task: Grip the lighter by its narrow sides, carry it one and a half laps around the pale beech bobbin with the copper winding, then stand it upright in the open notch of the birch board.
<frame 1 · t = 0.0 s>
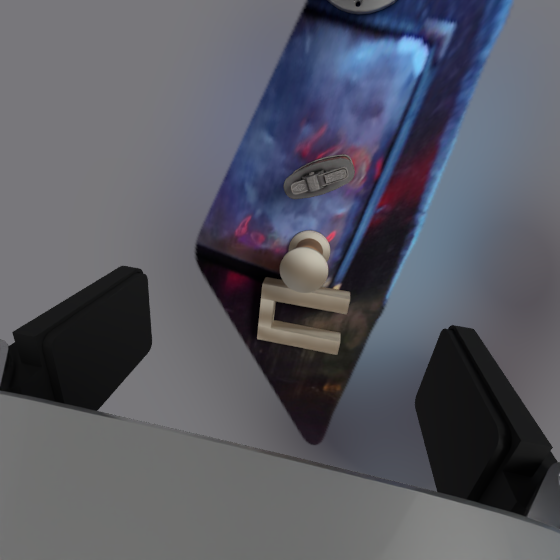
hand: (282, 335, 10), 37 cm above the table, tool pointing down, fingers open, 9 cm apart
bobbin: (309, 250, 48), on the table
notched board: (302, 312, 52), on the table
lighter: (322, 171, 43), on the table
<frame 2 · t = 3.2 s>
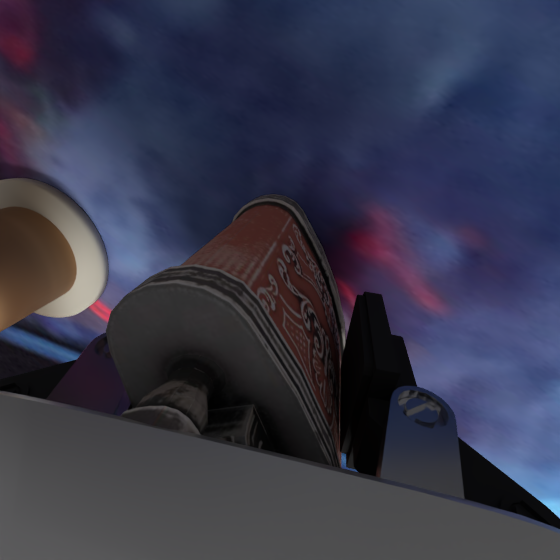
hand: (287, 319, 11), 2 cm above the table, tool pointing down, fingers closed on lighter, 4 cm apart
bobbin: (44, 250, 14), on the table
lighter: (295, 292, 13), on the table, touching gripper
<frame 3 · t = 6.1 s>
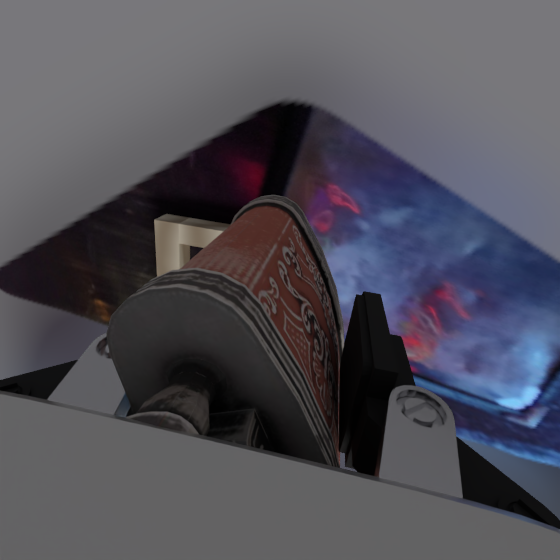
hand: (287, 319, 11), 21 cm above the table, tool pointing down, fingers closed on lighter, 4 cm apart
notched board: (211, 278, 36), on the table
lighter: (294, 293, 13), point 19 cm above the table, touching gripper
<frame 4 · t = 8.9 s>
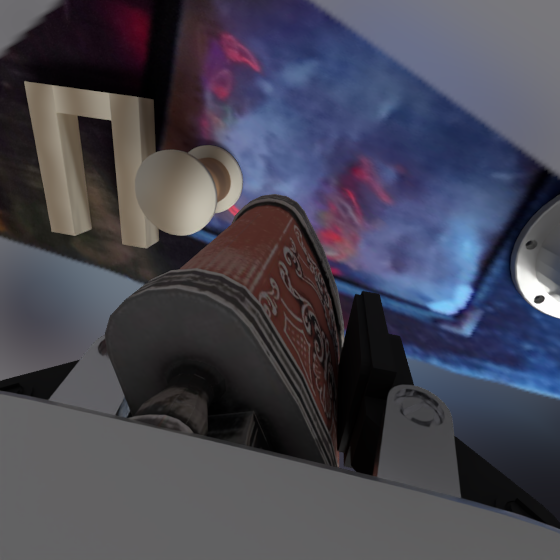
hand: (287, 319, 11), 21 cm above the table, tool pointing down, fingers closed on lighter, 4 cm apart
bobbin: (211, 179, 31), on the table
notched board: (107, 168, 32), on the table
lighter: (295, 293, 13), point 19 cm above the table, touching gripper
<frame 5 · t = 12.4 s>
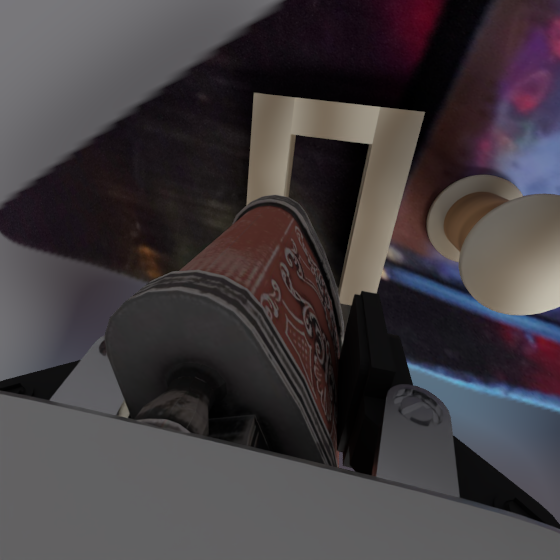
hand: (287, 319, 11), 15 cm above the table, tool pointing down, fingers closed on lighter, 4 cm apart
bobbin: (472, 219, 23), on the table
notched board: (321, 204, 24), on the table
lighter: (295, 294, 13), point 13 cm above the table, touching gripper
when the fingers open (3 cm above the table, at t = 14.7 s): lighter drops 2 cm, resting in notched board.
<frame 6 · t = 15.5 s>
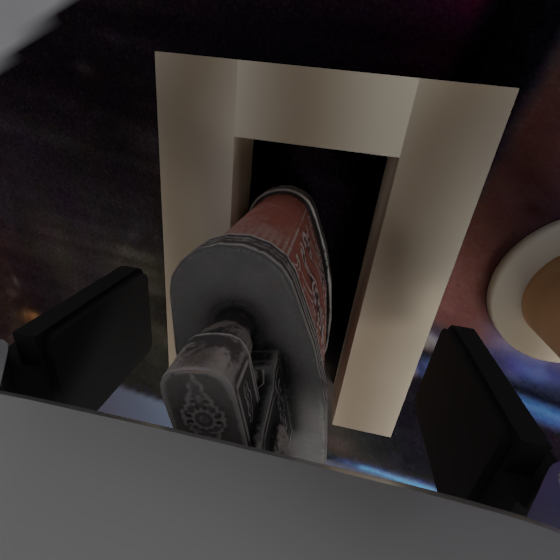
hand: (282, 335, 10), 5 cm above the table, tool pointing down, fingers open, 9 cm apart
notched board: (302, 257, 14), on the table
lighter: (293, 276, 15), resting in notched board
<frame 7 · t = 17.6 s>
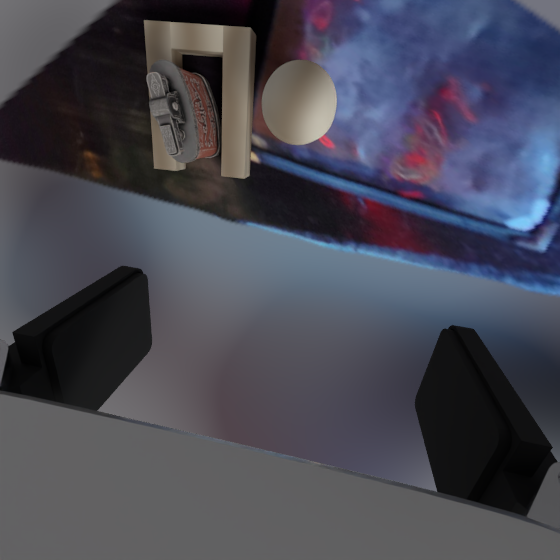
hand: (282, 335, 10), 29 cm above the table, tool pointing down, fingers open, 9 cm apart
bobbin: (305, 110, 33), on the table
notched board: (206, 106, 34), on the table
lighter: (204, 117, 35), resting in notched board
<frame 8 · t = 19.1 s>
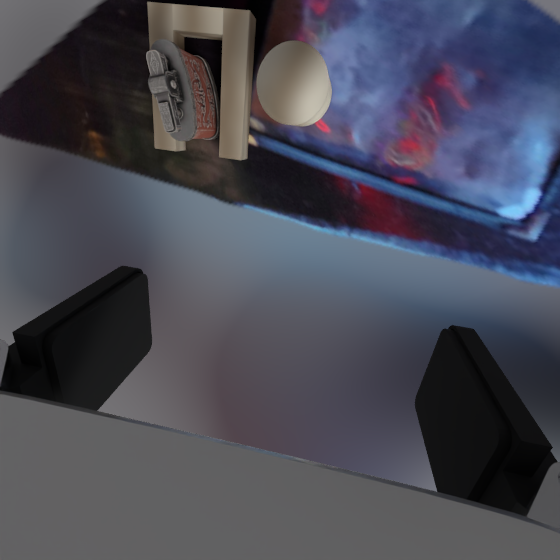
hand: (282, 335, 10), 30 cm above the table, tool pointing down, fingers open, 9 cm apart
bobbin: (302, 94, 34), on the table
notched board: (206, 89, 35), on the table
lighter: (204, 100, 36), resting in notched board
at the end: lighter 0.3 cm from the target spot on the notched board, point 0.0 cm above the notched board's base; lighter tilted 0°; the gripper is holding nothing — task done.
